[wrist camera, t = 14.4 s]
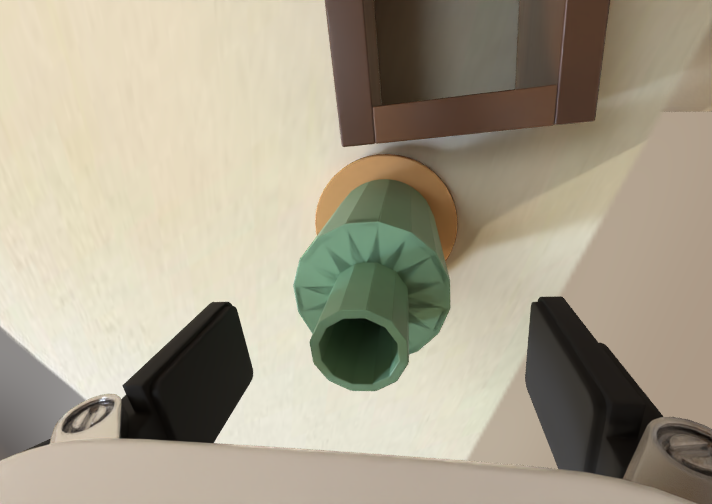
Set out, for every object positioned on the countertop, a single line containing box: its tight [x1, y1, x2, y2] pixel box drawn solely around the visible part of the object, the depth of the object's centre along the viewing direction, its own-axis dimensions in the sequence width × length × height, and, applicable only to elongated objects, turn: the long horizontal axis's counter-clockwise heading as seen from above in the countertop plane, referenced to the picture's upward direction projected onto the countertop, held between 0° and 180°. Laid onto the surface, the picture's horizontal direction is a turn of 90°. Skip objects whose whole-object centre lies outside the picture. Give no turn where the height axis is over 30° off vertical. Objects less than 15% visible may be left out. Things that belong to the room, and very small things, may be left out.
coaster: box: [315, 154, 457, 261], centre depth 22 cm, size 9×9×1 cm
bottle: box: [293, 179, 450, 391], centre depth 16 cm, size 6×6×12 cm
